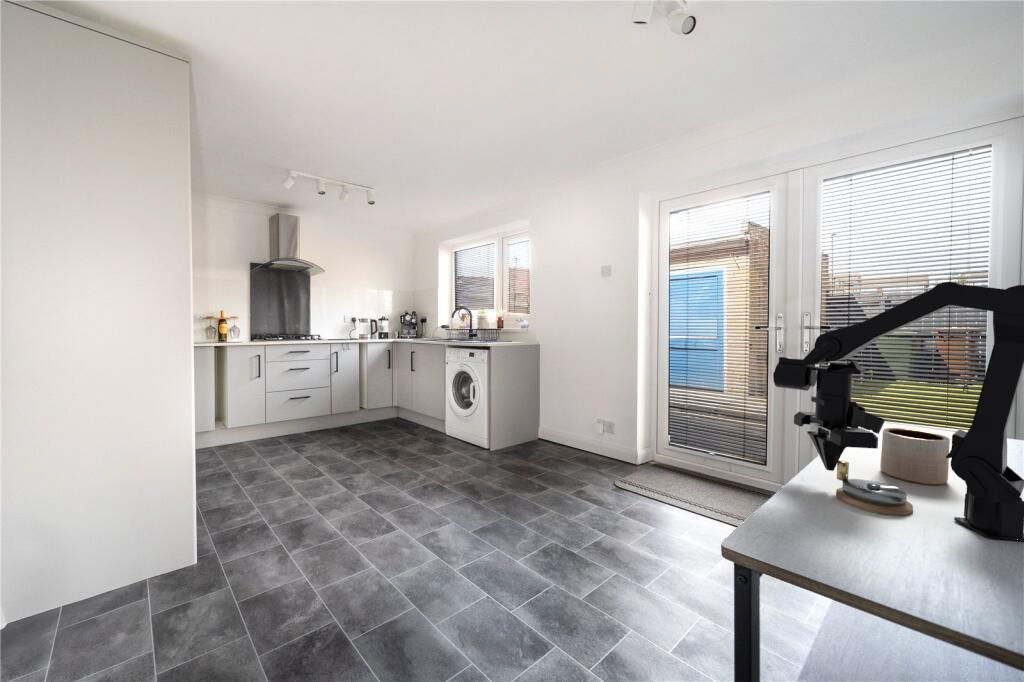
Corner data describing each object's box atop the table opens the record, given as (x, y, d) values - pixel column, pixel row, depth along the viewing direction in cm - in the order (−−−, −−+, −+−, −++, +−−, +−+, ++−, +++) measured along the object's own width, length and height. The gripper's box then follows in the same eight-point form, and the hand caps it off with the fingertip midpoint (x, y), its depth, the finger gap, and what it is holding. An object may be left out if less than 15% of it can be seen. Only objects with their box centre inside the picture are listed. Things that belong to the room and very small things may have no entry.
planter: (918, 469, 100) (921, 428, 99) (962, 487, 89) (966, 441, 88) (868, 467, 101) (870, 426, 100) (905, 485, 90) (908, 439, 89)
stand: (929, 518, 74) (930, 507, 74) (858, 512, 76) (859, 502, 76) (884, 492, 86) (885, 483, 85) (823, 488, 87) (824, 479, 87)
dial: (920, 508, 75) (921, 480, 75) (861, 503, 77) (863, 476, 77) (883, 487, 85) (884, 463, 84) (831, 484, 86) (832, 460, 86)
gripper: (913, 404, 76) (908, 490, 77) (849, 388, 95) (845, 458, 96) (844, 401, 78) (840, 486, 79) (794, 386, 97) (791, 455, 97)
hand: (829, 470), depth 88 cm, fingers closed
